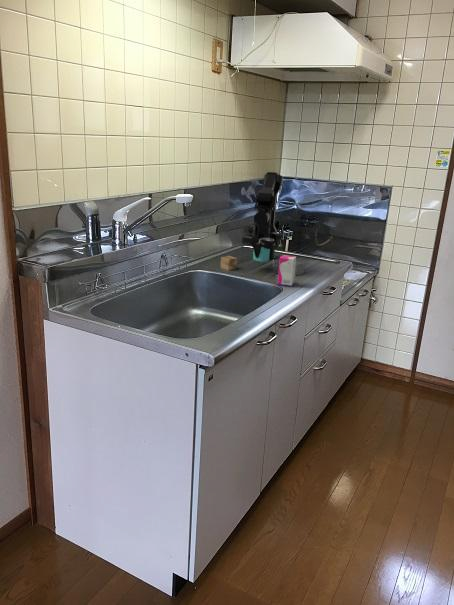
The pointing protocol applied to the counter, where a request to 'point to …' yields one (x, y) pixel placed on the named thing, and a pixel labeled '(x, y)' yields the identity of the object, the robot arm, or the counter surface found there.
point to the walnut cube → (228, 263)
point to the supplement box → (286, 270)
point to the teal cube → (262, 255)
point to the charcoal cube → (299, 268)
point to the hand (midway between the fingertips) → (261, 257)
